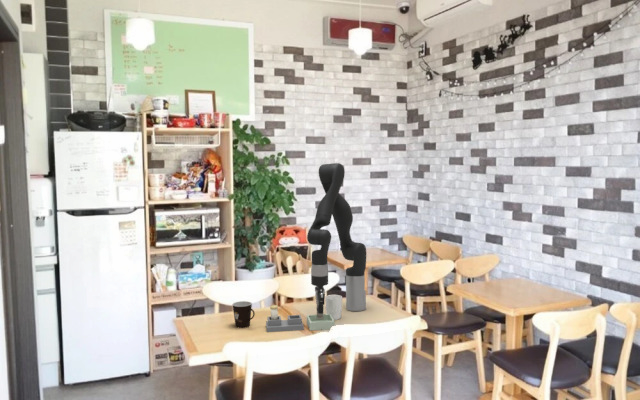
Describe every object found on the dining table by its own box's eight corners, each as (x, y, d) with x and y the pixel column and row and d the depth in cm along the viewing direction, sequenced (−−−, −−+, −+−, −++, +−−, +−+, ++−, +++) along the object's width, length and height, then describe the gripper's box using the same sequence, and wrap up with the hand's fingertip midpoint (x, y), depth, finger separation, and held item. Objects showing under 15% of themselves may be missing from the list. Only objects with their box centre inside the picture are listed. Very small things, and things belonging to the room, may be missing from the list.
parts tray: (330, 321, 240) (330, 313, 240) (334, 328, 229) (334, 321, 229) (306, 322, 239) (306, 315, 238) (309, 330, 228) (309, 322, 227)
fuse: (277, 322, 233) (277, 304, 232) (278, 324, 230) (278, 307, 229) (270, 322, 233) (269, 305, 232) (270, 325, 229) (270, 307, 229)
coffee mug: (231, 324, 238) (230, 302, 237) (249, 321, 241) (248, 300, 240) (237, 331, 227) (236, 309, 226) (256, 329, 231) (256, 306, 230)
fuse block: (301, 323, 238) (301, 313, 237) (303, 329, 229) (303, 319, 228) (266, 325, 235) (265, 315, 235) (267, 332, 226) (266, 321, 226)
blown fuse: (323, 317, 236) (323, 299, 235) (324, 319, 232) (324, 302, 232) (315, 317, 235) (315, 300, 234) (316, 320, 232) (316, 302, 231)
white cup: (345, 317, 246) (345, 296, 245) (334, 321, 240) (334, 300, 239) (333, 314, 251) (332, 293, 250) (322, 318, 245) (321, 297, 244)
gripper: (330, 277, 226) (331, 316, 227) (325, 270, 240) (325, 307, 241) (313, 277, 225) (313, 317, 226) (309, 270, 238) (309, 308, 240)
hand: (320, 311), depth 233 cm, fingers closed on blown fuse, 3 cm apart
